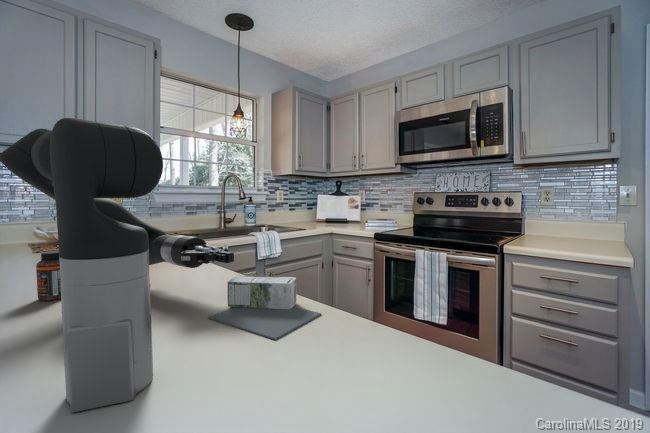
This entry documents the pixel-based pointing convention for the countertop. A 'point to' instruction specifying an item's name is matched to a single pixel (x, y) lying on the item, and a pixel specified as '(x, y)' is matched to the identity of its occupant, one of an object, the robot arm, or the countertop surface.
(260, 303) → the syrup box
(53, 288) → the supplement bottle
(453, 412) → the countertop surface
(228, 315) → the mat
